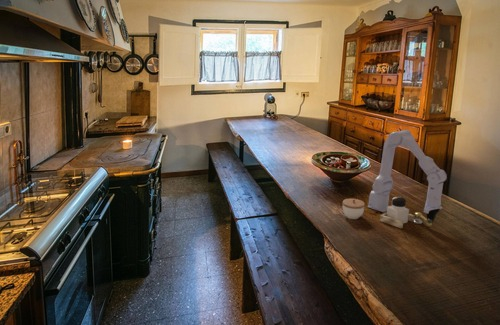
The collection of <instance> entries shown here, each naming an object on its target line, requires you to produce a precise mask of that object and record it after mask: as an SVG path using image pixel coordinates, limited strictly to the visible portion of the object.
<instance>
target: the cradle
mask: <svg viewBox="0 0 500 325" xmlns="http://www.w3.org/2000/svg"><path fill="white" fill-rule="evenodd" d="M386 215H387V211H385V212H383V213H382V214H380V215H379V216H380V217H379V218H380V219H379V222H382V223H385V224H387V225H391V226H393V227H396V228H399V229H404V224H405V223H404V222H402V221H399V220H396V219H393V218H390V217H387V216H386ZM413 219H415V214H412V213H409V214H408V221H409V222H412V221H413Z"/></svg>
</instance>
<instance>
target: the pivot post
mask: <svg viewBox="0 0 500 325" xmlns="http://www.w3.org/2000/svg"><path fill="white" fill-rule="evenodd" d="M411 222H412V223H413V224H421V225H422V223H423V221H422V220H420V219H419V218H416V217H414V218H413V221H411Z"/></svg>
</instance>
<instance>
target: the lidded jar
mask: <svg viewBox="0 0 500 325" xmlns="http://www.w3.org/2000/svg"><path fill="white" fill-rule="evenodd" d="M342 211H343V214H344V215H345V217H346V218H348V219H349V220H357V219H358V220H359V218H361V217H362V216H363V214H364V211H365V202H364V201H363V200H361V199H357V198H345V199H343V201H342Z"/></svg>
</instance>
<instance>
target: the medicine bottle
mask: <svg viewBox="0 0 500 325" xmlns="http://www.w3.org/2000/svg"><path fill="white" fill-rule="evenodd" d="M406 203H407V199H406V198H404V197H401V196H395V197H393V198H392V200H391V205H388V207H387V211H386V212H387V215H386V216H387V217H390V218H393V219H396V220H399V221H402V222H404V223H403V224H406V223H408V221H409V220H408V214H410V213H409V212H410V209H409V208H407V207H406Z"/></svg>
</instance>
